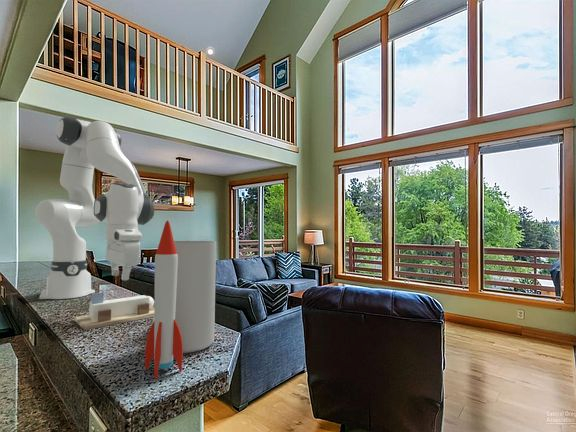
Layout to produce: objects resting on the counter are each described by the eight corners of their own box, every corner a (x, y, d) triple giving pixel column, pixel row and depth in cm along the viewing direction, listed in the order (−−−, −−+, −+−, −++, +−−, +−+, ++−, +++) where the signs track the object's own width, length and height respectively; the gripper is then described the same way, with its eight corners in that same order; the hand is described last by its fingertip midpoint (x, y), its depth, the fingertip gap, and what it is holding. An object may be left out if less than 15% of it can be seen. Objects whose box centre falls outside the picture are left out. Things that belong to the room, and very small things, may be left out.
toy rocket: (182, 371, 63) (187, 220, 64) (154, 380, 59) (160, 220, 60) (171, 362, 67) (176, 221, 68) (143, 370, 63) (149, 220, 64)
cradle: (74, 320, 95) (74, 307, 96) (148, 308, 111) (148, 296, 111) (84, 329, 87) (84, 315, 87) (163, 314, 103) (163, 302, 103)
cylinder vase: (213, 333, 85) (214, 240, 86) (215, 351, 73) (217, 243, 74) (163, 337, 82) (166, 240, 83) (157, 356, 70) (160, 243, 71)
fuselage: (89, 317, 95) (89, 292, 95) (150, 307, 108) (151, 285, 108) (93, 321, 92) (94, 295, 92) (156, 310, 105) (156, 287, 105)
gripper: (101, 232, 105) (99, 274, 105) (121, 235, 91) (119, 283, 90) (122, 232, 109) (120, 272, 109) (144, 235, 95) (142, 281, 95)
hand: (120, 277), depth 99 cm, fingers open, 8 cm apart
